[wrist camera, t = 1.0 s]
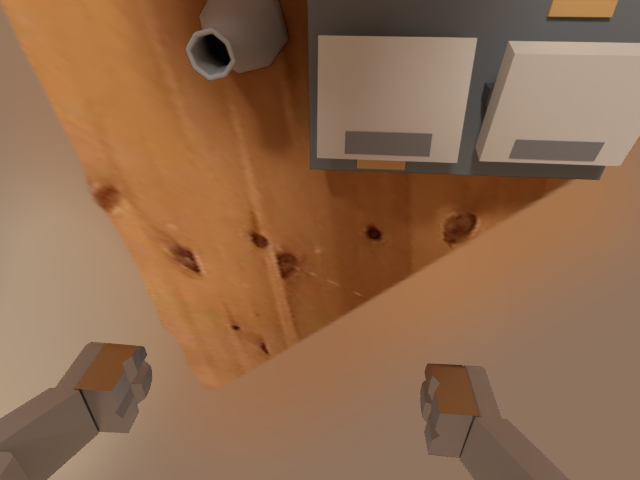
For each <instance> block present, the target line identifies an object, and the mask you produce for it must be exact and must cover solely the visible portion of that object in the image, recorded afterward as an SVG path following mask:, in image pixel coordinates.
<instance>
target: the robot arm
mask: <svg viewBox="0 0 640 480" xmlns="http://www.w3.org/2000/svg"><path fill="white" fill-rule="evenodd" d="M146 356H147V353H146V350H145V348H144V347H142V346H134V345H123V344H111V343H98V342H90V343H89V344H87V345H86V346H85V347H84V349H83V350H82V351H81V353H80V354H79V355H78V357H77V358H76V360H75V361H74V362H73V364H72V365H71V367H70V368H69V369H68V371H67V372H66V373H65V375H64V376H63V378H62V379H61V380H60V382H59V383H58V385H57V386H56V387H55V388H49V389H48V390H46V391H44V392H42V393H41V394H39V395H38V396H36V397H34V398H33V399H31V400H30V401H28V402H26V403H25V404H23V405H21V406H20V407H18V408H17V409H15V410H13V411H12V412H10V413H8V414H7V415H5V416H4V417H2V418H0V480H47V479H48V478H49V477H50V476H51V475H52V474H54V473H55V472H56V471H57V470H58V469H59V468H60V467H62V465H64V464H65V463H66V462H67V461H68V460H69V459H71V458H72V456H74V455H75V454H76V453H77V452H78V451H80V450H81V449H82V448H83V447H84V446H85V445H86V444H87V443H88V442H90V441H91V440H92V439H93V438H94V437H95V436H96V435H97V434H98V432H117V433H129V431H130V429H131V427H132V425H133V423H134V421H135V419H136V417H137V415H138V413H139V410H138V407H137V404H138V403H140V402H141V401H142V400H143V399H145V398H146V396H147V394H148V392H149V390H150V386H151V381H152V370H151V366H150V365H149V364H148V363H147V362H146V361H145V360H144V359H145V358H146ZM425 377H426V381H424V382H423V383H422V388H421V398H420V403H421V413H422V417H423V418H424V420H425V421H426V422H427V424H426V427H425V438H426V444H427V449H428V455H436V456H446V457H456V458H460V461H461V462H462V463H463V465H464V466H465V467H466V469H467V470H468V472H469V473H470V474H471V475H472V477H473V478H474V480H570V479H569V478H568V477H567V476H566V475H565V474H564V473H563V472H562V471H561V470H560V469H559V468H558V467H556V466H555V465H554V464H553V463H552V462H551V461H550V460H549V459H548V458H547V457H546V456H545V455H544V454H543V453H542V452H541V451H540V450H539V449H538V448H537V447H536V446H535V445H534V444H532V442H530V440H528V439H527V438H526V437H525V436H524V435H523V434H522V433H521V432H520V431H519V430H518V429H517V428H516V427H515V426H514V425H513V424H512V423H511V422H510V421H509V420H508V419H502V418H501V415H500V412H499V409H498V406H497V403H496V400H495V397H494V395H493V392H492V389H491V386H490V383H489V380H488V377H487V374H486V371H485V369H484V368H483V367H479V366H462V365H448V364H427V366H426V369H425Z"/></svg>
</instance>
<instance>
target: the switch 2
mask: <svg viewBox="0 0 640 480" xmlns="http://www.w3.org/2000/svg"><path fill="white" fill-rule="evenodd" d="M639 136H640V43H612V42H549V41H508V44H507V47H506V50H505V53H504V57H503V60H502V63H501V66H500V69H499V73H498V76H497V79H496V82H495V85H494V89H493V92H492V95H491V98H490V101H489V105H488V108H487V111H486V114H485V117H484V121H483V124H482V127H481V130H480V133H479V137H478V140H477V143H476V146H475V148H476V151H477V155H478V158H479V161H488V162H517V163H545V164H573V165H602V166H620V165H621V163H622V162H623V160H624V159H625V157H626V156H627V154H628V153H629V151H630V150H631V148H632V147H633V145H634V143H635V142H636V140H637V139H638V137H639Z"/></svg>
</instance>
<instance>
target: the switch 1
mask: <svg viewBox="0 0 640 480" xmlns="http://www.w3.org/2000/svg"><path fill="white" fill-rule="evenodd" d="M476 44H477V38H456V37H392V36H328V35H318V100H317V158H330V159H358V160H386V161H414V162H442V163H457V160H458V154H459V148H460V142H461V136H462V130H463V123H464V117H465V111H466V105H467V99H468V93H469V87H470V80H471V74H472V68H473V62H474V56H475V50H476Z"/></svg>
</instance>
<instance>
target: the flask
mask: <svg viewBox="0 0 640 480" xmlns="http://www.w3.org/2000/svg"><path fill="white" fill-rule="evenodd" d="M199 18H200V22H201V27H202V30H200V31H196V32H194V34H193V36H192V37H191V39H190V41H189V43H188V44H187V46H186V48H185V50H186V53H187V55H188V58H189V60H190V63H191V65H192V68H193V69H194V70H195V71H196V72H198V73H199V74H200V75H202V76H203V77H204V78H205V79H207V80H208V81H213V80H217V79H221V78H225V77H227V76H228V74H229V73H230V71H231V70H234V71H236V72H238V73H243V72H247V71H251V70H255V69H259V68H264V67H268V66H270V65H271V64H272V62H273V61H274V59H275V58H276V57H277V55H278V54H279V52H280V51H281V50H282V48H283V47H284V45H285V44H286V43H287V41H288V40H289V37H288V33H287V29H286V25H285V22H284V18H283V14H282V10H281V6H280V3H279V1H278V0H207V2H206V4H205V6H204V8H203V9H202V11H201V13H200V15H199Z"/></svg>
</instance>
